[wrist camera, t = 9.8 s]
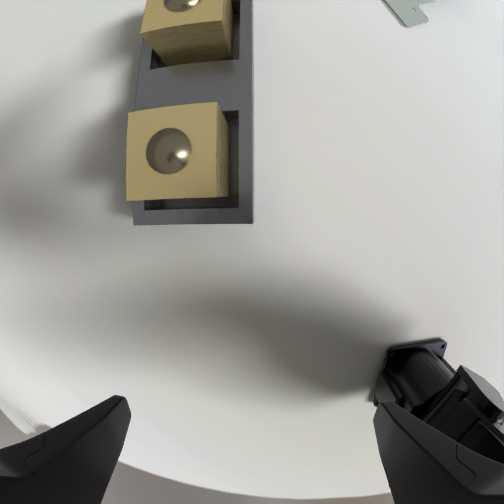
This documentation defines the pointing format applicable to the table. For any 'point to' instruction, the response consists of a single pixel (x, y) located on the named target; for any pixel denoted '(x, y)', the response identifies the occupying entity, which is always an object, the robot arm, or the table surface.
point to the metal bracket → (407, 11)
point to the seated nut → (178, 153)
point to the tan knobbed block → (189, 30)
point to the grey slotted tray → (233, 108)
